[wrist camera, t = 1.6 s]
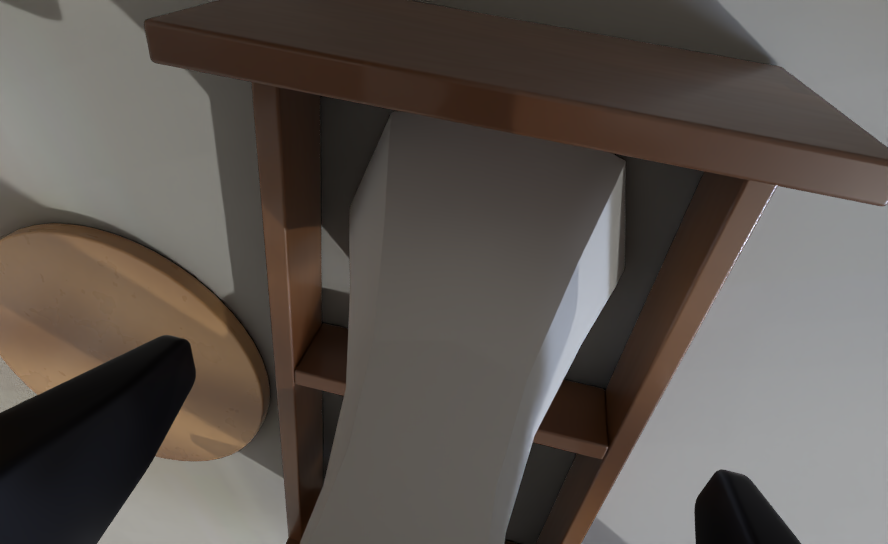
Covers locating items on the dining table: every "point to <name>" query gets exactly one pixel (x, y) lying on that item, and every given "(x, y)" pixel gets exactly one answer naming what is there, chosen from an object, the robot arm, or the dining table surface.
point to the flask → (461, 324)
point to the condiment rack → (529, 114)
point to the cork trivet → (127, 328)
